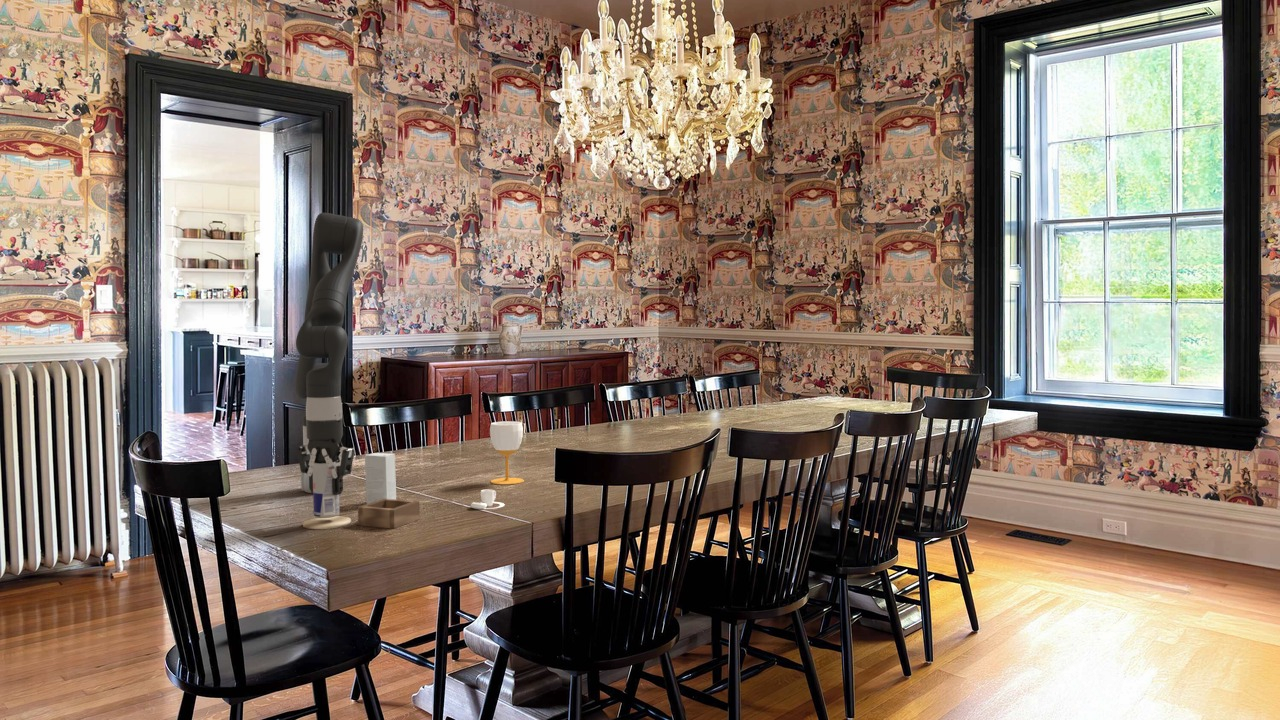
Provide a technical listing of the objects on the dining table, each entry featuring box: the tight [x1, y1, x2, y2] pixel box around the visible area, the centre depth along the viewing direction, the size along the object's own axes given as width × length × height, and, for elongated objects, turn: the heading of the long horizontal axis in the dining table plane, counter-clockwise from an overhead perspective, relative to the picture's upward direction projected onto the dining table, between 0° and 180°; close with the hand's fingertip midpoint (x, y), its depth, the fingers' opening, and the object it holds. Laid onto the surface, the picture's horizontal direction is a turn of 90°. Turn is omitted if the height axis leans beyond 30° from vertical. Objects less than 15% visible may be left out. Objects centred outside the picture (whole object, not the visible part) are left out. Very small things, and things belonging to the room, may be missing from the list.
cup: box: [489, 420, 525, 486], centre depth 247 cm, size 9×9×16 cm
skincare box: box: [364, 452, 397, 504], centre depth 221 cm, size 6×4×12 cm
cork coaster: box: [302, 515, 352, 530], centre depth 200 cm, size 10×10×1 cm
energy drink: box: [312, 461, 340, 518], centre depth 200 cm, size 5×5×12 cm
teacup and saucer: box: [470, 488, 506, 510], centre depth 217 cm, size 9×8×4 cm
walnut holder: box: [357, 498, 421, 529], centre depth 201 cm, size 9×9×4 cm
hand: (326, 493), depth 200 cm, fingers closed on energy drink, 5 cm apart
